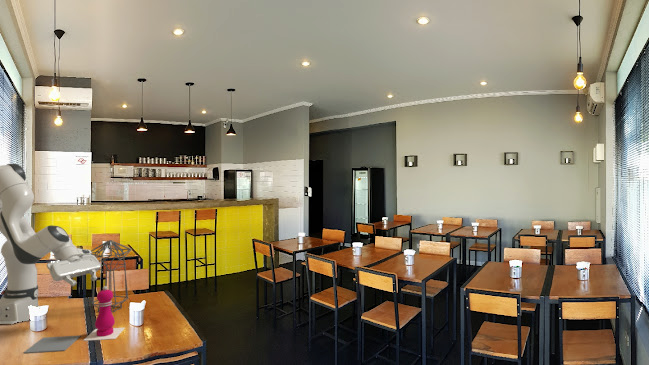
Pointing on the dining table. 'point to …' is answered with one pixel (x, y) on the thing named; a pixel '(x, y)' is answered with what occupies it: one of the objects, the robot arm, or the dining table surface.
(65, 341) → the slate mat
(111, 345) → the dining table surface
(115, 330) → the white flat square plate
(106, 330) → the pepper mill
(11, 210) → the robot arm
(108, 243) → the geometric lantern
